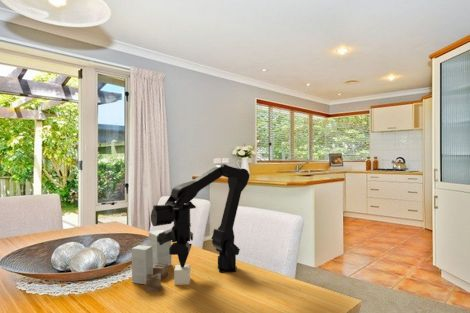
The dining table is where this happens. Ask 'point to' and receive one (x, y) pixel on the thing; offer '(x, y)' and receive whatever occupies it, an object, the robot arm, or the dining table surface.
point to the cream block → (181, 275)
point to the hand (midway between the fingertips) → (182, 266)
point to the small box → (159, 249)
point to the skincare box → (141, 263)
